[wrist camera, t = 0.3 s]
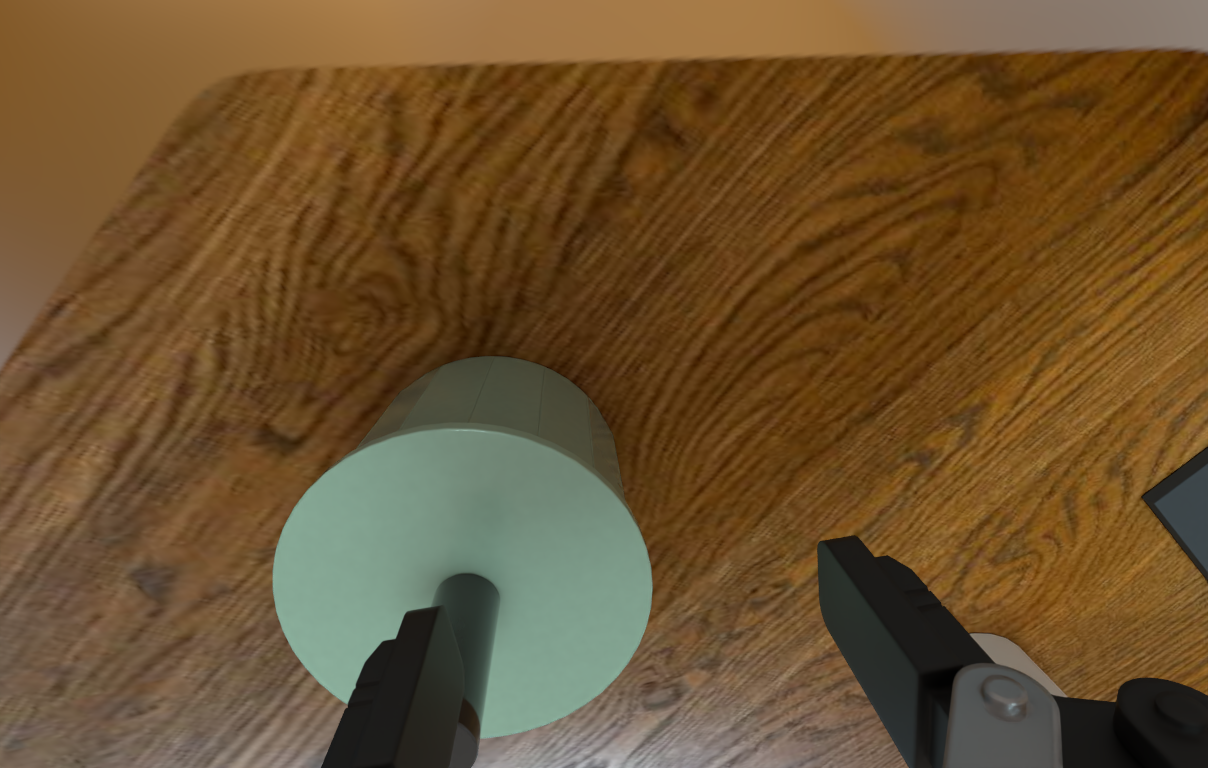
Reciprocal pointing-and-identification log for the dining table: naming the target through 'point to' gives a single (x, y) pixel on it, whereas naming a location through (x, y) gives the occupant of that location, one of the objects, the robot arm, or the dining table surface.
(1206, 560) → the mat
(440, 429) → the lid
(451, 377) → the pot
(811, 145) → the dining table surface
